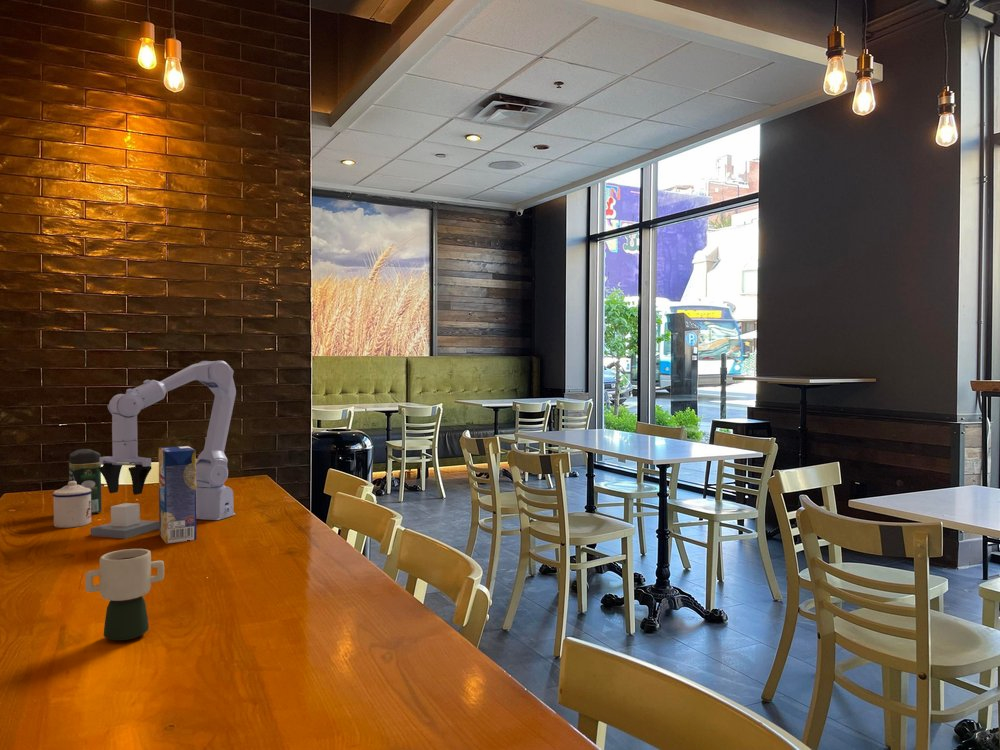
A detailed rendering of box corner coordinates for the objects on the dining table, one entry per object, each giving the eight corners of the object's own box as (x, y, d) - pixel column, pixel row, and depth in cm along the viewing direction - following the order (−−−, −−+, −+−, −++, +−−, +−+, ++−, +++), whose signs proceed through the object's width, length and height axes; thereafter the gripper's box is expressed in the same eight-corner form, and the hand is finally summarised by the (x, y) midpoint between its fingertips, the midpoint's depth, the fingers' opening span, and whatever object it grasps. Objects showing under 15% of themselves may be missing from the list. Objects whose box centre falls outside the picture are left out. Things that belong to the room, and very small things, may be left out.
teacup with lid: (95, 524, 189) (95, 481, 189) (56, 530, 183) (55, 485, 182) (85, 517, 198) (85, 476, 197) (47, 522, 192) (47, 480, 191)
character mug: (160, 622, 116) (160, 544, 116) (168, 636, 110) (167, 553, 110) (84, 637, 110) (83, 554, 109) (88, 652, 104) (87, 565, 103)
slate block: (159, 530, 184) (159, 521, 184) (125, 540, 173) (125, 530, 173) (125, 528, 187) (125, 519, 187) (90, 537, 176) (90, 528, 176)
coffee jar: (67, 512, 205) (67, 448, 205) (98, 508, 210) (98, 446, 210) (71, 517, 198) (71, 452, 197) (103, 514, 202) (103, 449, 202)
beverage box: (188, 531, 181) (187, 445, 181) (196, 539, 172) (195, 450, 171) (159, 534, 177) (158, 447, 177) (166, 543, 168) (165, 452, 168)
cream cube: (139, 522, 182) (139, 503, 182) (125, 526, 177) (125, 507, 177) (125, 522, 183) (125, 503, 183) (111, 526, 178) (110, 506, 178)
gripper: (89, 441, 178) (90, 494, 178) (135, 443, 174) (136, 497, 174) (111, 438, 185) (112, 490, 185) (157, 440, 181) (157, 492, 181)
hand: (125, 493), depth 180 cm, fingers open, 7 cm apart
